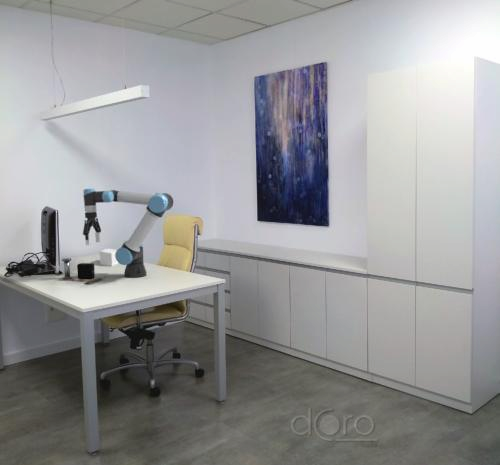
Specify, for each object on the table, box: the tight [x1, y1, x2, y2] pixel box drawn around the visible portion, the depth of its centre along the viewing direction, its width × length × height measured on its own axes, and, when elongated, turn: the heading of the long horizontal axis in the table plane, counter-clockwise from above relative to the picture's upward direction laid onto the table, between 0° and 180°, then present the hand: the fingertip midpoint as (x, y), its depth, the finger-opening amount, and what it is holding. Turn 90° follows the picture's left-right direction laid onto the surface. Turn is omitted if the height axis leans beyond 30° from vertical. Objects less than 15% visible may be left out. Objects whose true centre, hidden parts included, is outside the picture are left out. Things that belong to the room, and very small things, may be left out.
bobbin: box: [61, 257, 73, 279], centre depth 358 cm, size 6×6×13 cm
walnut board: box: [56, 275, 104, 285], centre depth 357 cm, size 27×15×2 cm, turn 74°
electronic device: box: [76, 262, 96, 280], centre depth 354 cm, size 4×10×10 cm, turn 78°
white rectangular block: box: [99, 248, 119, 267], centre depth 423 cm, size 14×29×10 cm, turn 20°
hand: (93, 243), depth 361 cm, fingers open, 13 cm apart
